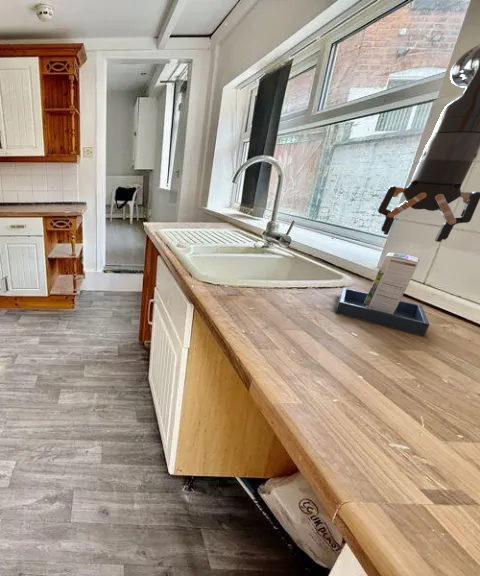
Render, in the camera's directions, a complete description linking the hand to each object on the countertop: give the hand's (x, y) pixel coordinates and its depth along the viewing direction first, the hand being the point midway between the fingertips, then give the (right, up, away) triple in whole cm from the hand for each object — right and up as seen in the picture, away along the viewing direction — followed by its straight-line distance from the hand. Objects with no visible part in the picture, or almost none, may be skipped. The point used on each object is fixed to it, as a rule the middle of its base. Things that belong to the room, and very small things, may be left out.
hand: (410, 237), depth 68 cm
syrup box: (-1, -18, +7) cm, 19 cm away
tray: (-1, -18, +7) cm, 19 cm away
